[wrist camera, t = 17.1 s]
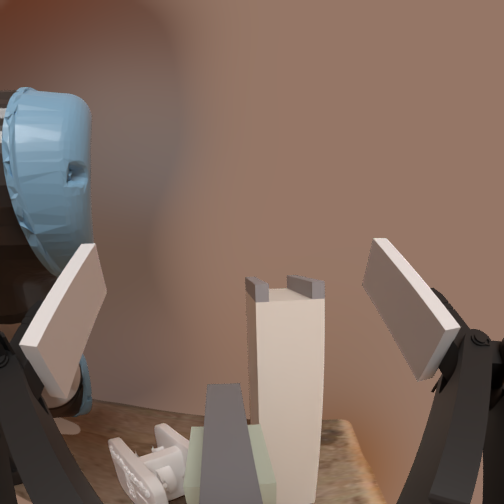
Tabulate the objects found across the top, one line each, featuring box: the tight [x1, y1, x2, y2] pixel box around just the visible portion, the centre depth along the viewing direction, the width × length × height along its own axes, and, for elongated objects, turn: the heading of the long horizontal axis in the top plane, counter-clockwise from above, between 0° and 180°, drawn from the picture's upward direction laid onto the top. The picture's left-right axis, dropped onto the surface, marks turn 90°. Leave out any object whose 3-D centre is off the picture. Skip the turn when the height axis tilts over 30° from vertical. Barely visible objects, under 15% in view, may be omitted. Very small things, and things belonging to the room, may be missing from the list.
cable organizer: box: [108, 423, 189, 504], centre depth 36 cm, size 15×11×12 cm
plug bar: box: [199, 383, 263, 504], centre depth 22 cm, size 4×20×4 cm, turn 6°
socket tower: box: [245, 275, 325, 504], centre depth 42 cm, size 8×14×34 cm, turn 6°
